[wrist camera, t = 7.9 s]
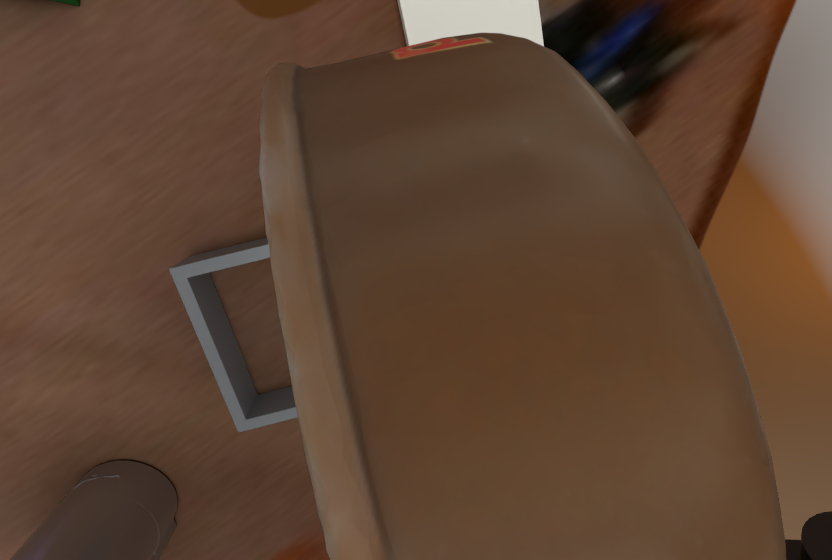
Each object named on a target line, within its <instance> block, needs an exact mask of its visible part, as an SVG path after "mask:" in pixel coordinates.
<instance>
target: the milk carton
mask: <svg viewBox="0 0 832 560" xmlns="http://www.w3.org/2000/svg"><path fill="white" fill-rule="evenodd" d="M51 1H56V2H62V3H67V4H72V5H77V6H80V3H79V0H51Z"/></svg>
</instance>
